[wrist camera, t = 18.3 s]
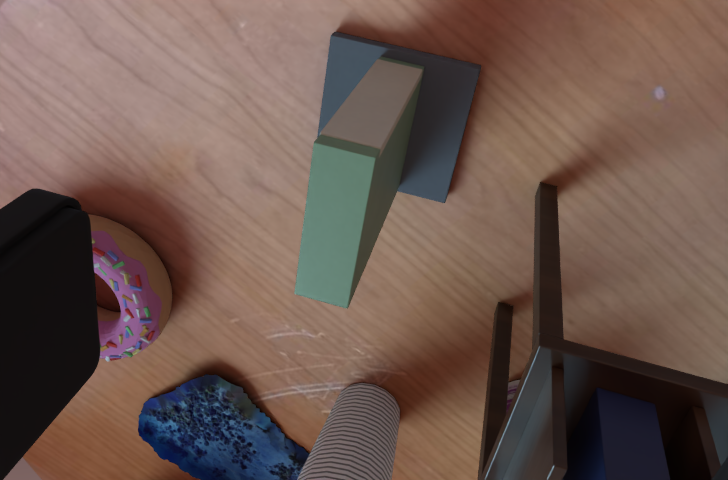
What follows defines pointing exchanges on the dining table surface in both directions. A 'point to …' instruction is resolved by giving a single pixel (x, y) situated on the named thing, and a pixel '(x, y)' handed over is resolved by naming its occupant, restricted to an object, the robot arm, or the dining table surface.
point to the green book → (355, 180)
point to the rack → (584, 386)
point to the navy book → (616, 441)
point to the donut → (129, 289)
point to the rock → (218, 434)
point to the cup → (356, 437)
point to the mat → (433, 110)
